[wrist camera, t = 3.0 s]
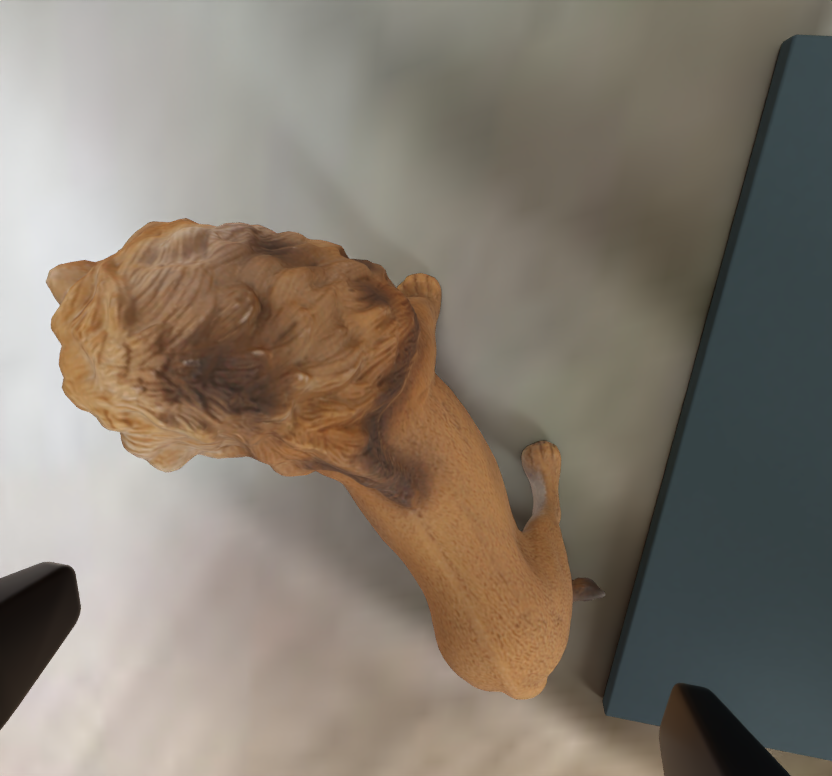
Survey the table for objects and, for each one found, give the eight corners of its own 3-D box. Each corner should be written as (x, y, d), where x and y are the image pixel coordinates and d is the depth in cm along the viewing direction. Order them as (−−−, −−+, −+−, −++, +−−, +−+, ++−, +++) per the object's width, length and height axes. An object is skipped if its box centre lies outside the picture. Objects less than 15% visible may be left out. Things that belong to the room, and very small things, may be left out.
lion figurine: (223, 293, 16) (-93, 390, 8) (342, 161, 14) (102, 96, 6) (536, 619, 18) (563, 982, 10) (675, 538, 16) (858, 898, 8)
